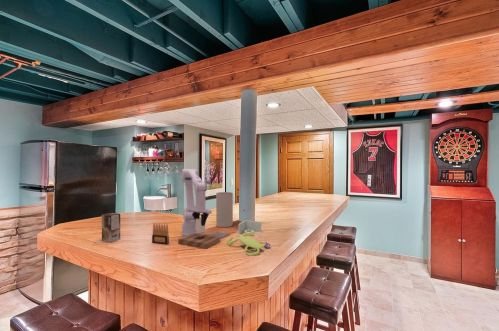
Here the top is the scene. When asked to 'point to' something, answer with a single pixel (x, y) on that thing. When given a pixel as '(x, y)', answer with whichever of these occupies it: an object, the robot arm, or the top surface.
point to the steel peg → (199, 226)
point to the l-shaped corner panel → (249, 226)
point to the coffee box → (110, 227)
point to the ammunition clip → (160, 234)
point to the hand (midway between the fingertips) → (200, 225)
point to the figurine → (249, 243)
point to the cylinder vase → (224, 209)
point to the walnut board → (199, 240)
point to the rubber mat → (220, 234)
